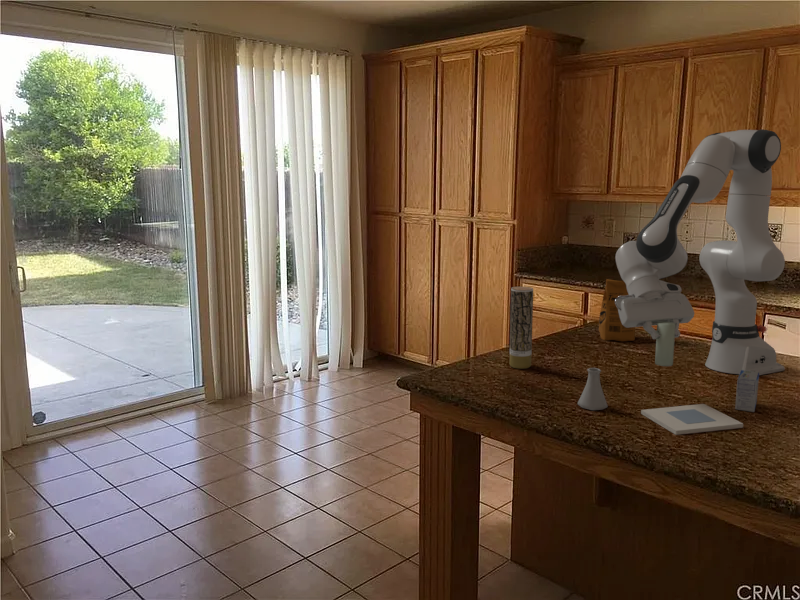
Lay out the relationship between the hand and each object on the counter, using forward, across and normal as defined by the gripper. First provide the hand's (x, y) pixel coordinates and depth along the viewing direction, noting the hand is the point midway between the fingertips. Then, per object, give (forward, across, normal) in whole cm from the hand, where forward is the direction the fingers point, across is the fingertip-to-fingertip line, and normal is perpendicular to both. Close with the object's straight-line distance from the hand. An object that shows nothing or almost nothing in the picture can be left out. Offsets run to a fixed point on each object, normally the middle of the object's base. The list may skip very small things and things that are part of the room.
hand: (666, 337), depth 170 cm
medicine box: (+19, +18, +6) cm, 27 cm away
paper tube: (-15, -24, +40) cm, 49 cm away
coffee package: (-32, +24, +57) cm, 69 cm away
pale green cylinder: (+5, 0, +6) cm, 7 cm away
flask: (+12, -20, +13) cm, 27 cm away
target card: (+22, -2, +2) cm, 23 cm away
